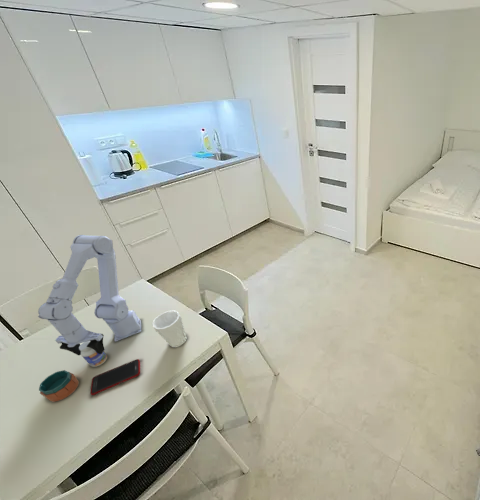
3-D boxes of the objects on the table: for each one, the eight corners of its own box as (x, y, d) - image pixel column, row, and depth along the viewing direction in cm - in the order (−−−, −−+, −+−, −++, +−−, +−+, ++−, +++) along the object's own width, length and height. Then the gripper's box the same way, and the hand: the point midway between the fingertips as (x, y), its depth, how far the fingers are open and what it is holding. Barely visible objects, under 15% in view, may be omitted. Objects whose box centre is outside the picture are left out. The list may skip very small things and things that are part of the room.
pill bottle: (98, 368, 108) (84, 352, 102) (87, 365, 109) (72, 350, 103) (111, 355, 112) (98, 340, 107) (99, 353, 113) (86, 338, 108)
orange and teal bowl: (80, 373, 106) (71, 364, 103) (77, 393, 100) (68, 384, 97) (50, 385, 102) (40, 377, 99) (45, 407, 96) (34, 398, 93)
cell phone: (93, 378, 104) (92, 377, 104) (140, 359, 110) (139, 358, 110) (91, 396, 99) (89, 395, 98) (140, 375, 105) (139, 373, 104)
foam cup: (160, 346, 116) (146, 324, 108) (179, 329, 123) (167, 307, 115) (177, 353, 113) (164, 331, 105) (195, 335, 120) (184, 314, 112)
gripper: (39, 339, 96) (63, 363, 104) (84, 336, 97) (104, 360, 104) (56, 322, 102) (77, 346, 110) (98, 320, 102) (116, 344, 110)
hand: (91, 352), depth 107 cm, fingers open, 7 cm apart
